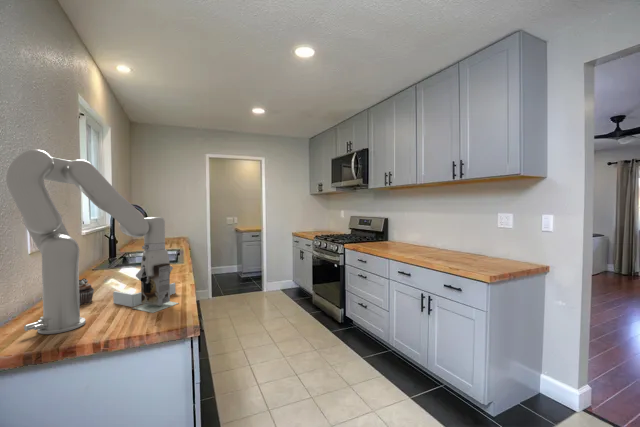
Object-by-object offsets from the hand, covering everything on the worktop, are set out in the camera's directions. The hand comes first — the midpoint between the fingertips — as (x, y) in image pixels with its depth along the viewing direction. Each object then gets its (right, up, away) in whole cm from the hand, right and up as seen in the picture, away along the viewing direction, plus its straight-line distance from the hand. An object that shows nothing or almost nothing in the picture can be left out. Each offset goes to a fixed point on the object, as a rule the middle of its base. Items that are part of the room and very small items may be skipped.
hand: (155, 289), depth 126 cm
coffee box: (0, -6, 0) cm, 6 cm away
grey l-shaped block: (-10, -6, +11) cm, 16 cm away
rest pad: (0, -7, 0) cm, 7 cm away
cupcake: (-35, -7, +5) cm, 36 cm away
